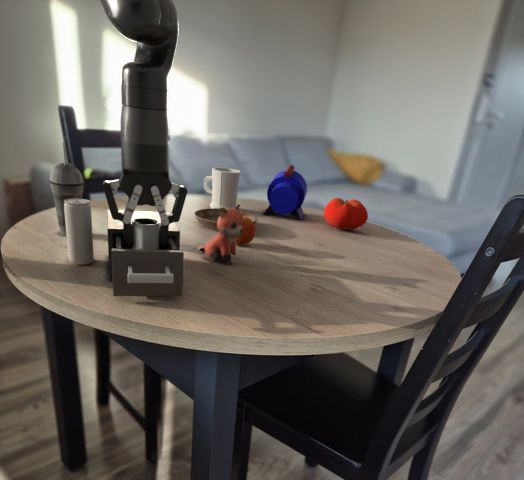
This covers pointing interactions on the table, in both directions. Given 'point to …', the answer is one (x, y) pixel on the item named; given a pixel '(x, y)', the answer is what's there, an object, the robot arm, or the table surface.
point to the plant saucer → (215, 217)
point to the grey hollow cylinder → (145, 234)
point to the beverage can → (79, 231)
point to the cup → (223, 187)
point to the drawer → (147, 270)
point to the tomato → (345, 214)
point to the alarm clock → (287, 193)
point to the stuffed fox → (224, 236)
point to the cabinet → (117, 226)
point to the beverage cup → (65, 187)
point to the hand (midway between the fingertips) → (146, 244)
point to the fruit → (246, 232)
